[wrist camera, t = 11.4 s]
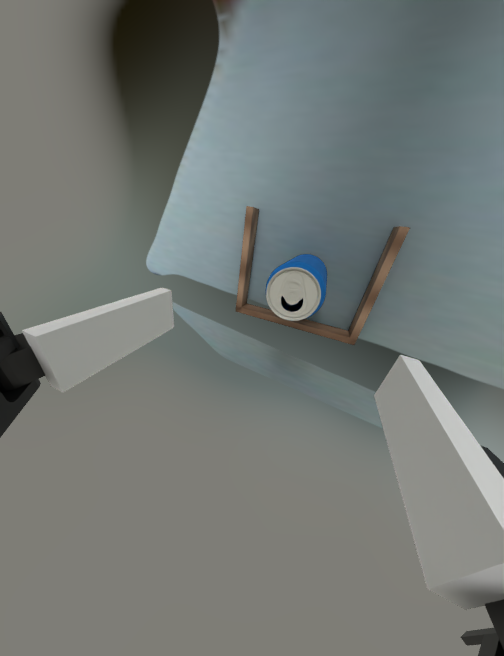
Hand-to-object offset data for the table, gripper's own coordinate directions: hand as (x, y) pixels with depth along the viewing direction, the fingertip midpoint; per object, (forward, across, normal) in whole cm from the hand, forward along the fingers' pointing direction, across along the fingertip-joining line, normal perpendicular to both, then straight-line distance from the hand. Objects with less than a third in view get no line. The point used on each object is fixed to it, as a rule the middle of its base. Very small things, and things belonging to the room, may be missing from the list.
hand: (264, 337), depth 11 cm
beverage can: (+22, 0, 0) cm, 22 cm away
